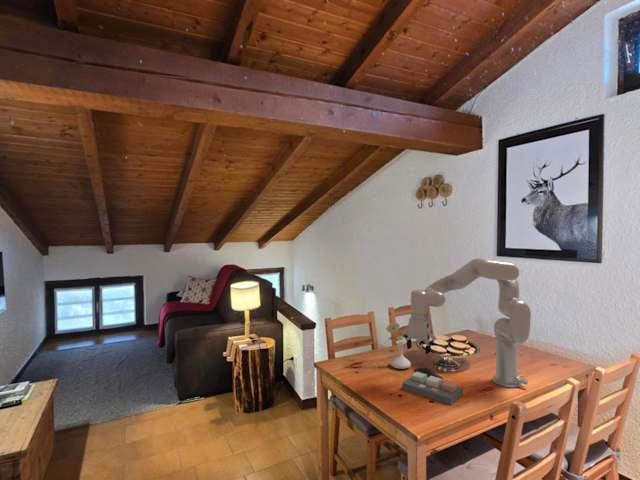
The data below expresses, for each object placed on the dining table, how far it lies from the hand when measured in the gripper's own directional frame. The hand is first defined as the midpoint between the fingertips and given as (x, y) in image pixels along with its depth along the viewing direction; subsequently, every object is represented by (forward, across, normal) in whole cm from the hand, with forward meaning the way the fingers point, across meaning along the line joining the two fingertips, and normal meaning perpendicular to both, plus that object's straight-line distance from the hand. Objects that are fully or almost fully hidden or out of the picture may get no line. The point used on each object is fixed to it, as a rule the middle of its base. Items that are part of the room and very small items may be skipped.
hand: (418, 350), depth 168 cm
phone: (+17, +2, -14) cm, 23 cm away
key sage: (+15, 0, 0) cm, 15 cm away
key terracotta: (+15, -15, 0) cm, 21 cm away
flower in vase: (+17, +19, -14) cm, 29 cm away
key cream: (+15, -8, 0) cm, 17 cm away
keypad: (+17, -8, +2) cm, 19 cm away
